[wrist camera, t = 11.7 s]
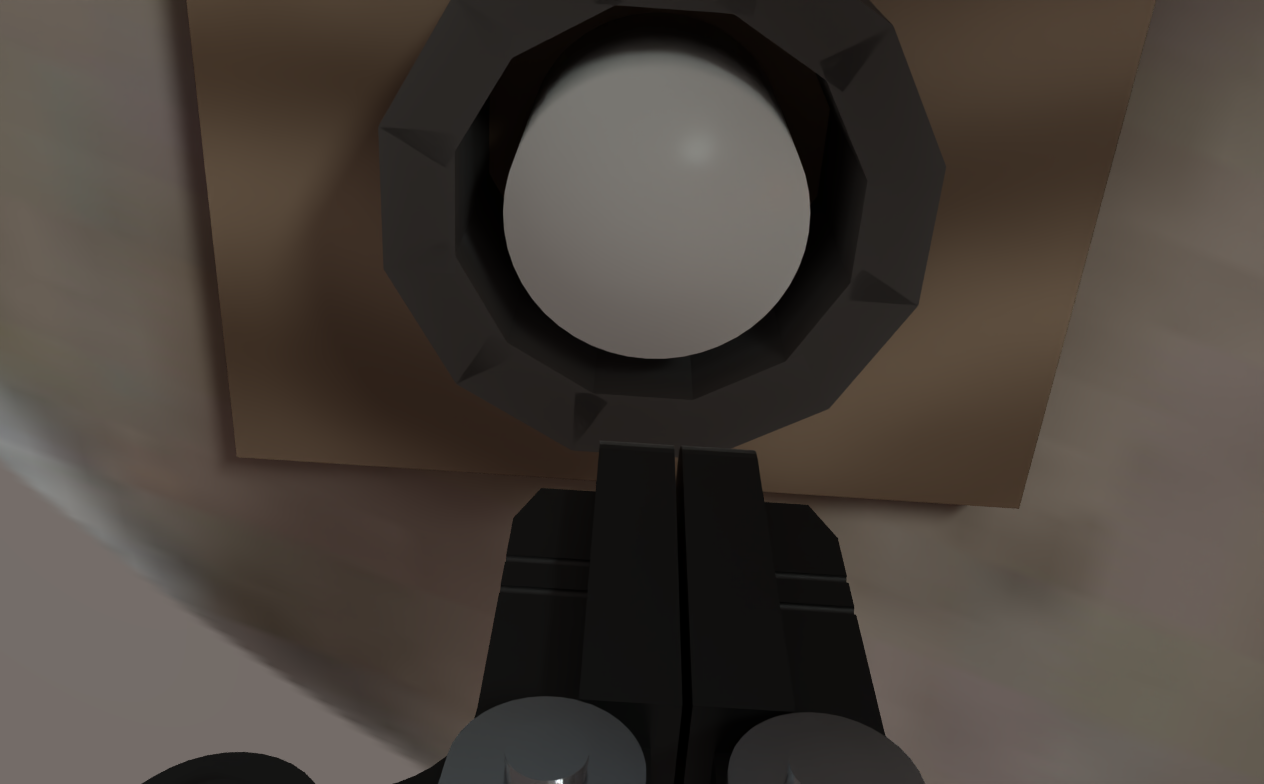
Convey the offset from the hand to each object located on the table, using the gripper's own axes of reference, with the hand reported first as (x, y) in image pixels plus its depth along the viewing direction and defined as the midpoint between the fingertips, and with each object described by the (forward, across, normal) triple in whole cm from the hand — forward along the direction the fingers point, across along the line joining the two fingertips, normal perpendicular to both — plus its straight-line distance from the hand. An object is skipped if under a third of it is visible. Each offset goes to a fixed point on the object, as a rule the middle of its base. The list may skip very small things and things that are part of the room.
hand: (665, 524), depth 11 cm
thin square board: (+15, 0, 0) cm, 15 cm away
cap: (+13, 0, 0) cm, 13 cm away
